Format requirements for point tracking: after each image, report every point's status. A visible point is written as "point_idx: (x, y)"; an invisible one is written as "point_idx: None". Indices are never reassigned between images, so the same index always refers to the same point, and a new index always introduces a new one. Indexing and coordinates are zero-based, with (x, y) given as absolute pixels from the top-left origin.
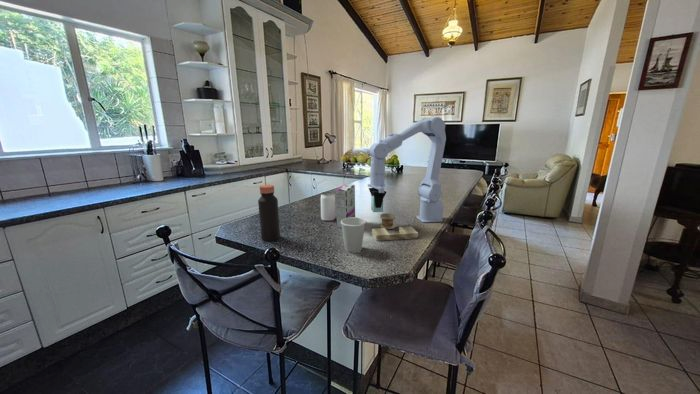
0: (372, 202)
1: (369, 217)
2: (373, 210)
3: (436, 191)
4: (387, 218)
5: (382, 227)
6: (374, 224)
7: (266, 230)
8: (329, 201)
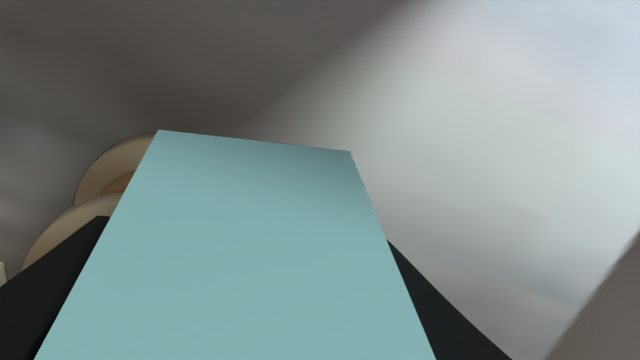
0: (254, 238)
1: (539, 135)
2: (155, 144)
3: None
4: (25, 260)
5: (116, 147)
6: (292, 106)
7: None
8: None
